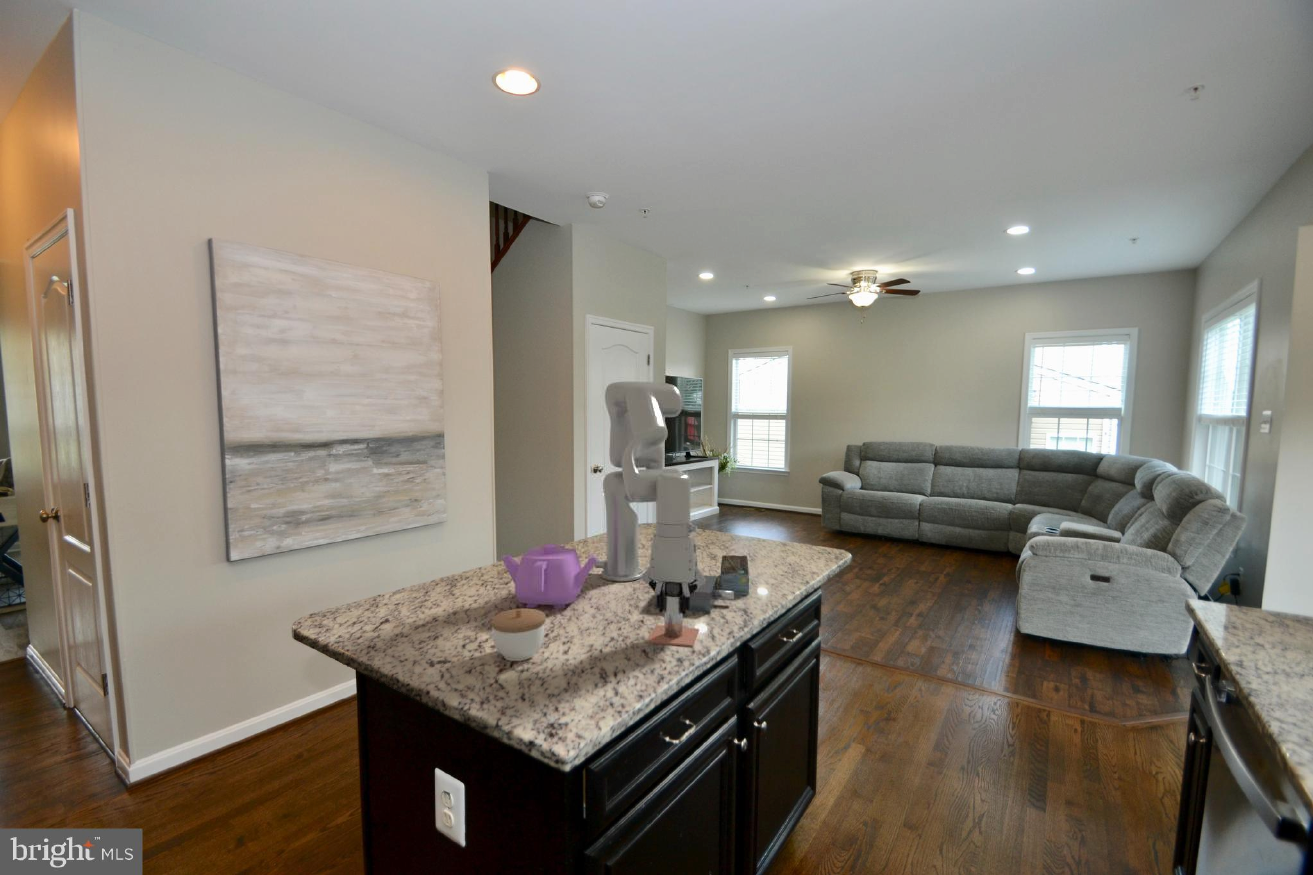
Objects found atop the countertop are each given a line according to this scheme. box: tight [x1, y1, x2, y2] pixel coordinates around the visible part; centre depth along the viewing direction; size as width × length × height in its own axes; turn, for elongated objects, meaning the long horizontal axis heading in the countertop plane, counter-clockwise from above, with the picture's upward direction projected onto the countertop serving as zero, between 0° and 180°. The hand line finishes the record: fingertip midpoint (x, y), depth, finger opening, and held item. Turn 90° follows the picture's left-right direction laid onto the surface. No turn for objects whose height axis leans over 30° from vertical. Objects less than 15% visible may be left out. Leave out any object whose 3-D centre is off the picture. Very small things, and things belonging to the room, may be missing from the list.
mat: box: [646, 624, 700, 648], centre depth 125 cm, size 10×9×1 cm
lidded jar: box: [490, 608, 546, 662], centre depth 115 cm, size 11×11×9 cm
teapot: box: [501, 543, 598, 610], centre depth 147 cm, size 19×18×15 cm
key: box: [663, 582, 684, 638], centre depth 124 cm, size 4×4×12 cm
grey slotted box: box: [654, 574, 735, 614], centre depth 146 cm, size 19×14×5 cm
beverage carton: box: [720, 554, 750, 596], centre depth 161 cm, size 8×19×7 cm, turn 172°
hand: (673, 610), depth 124 cm, fingers open, 4 cm apart
